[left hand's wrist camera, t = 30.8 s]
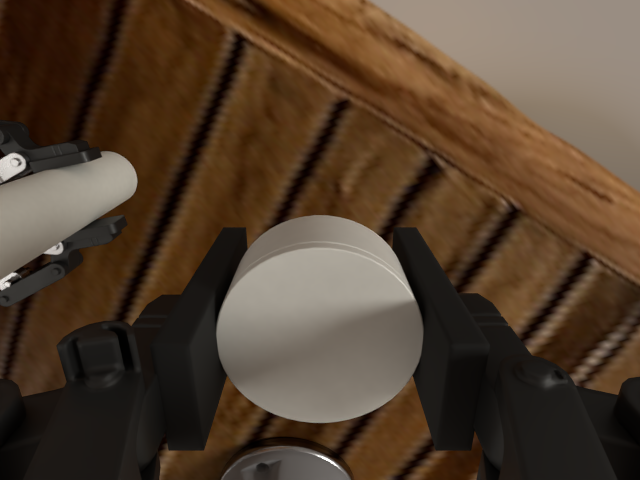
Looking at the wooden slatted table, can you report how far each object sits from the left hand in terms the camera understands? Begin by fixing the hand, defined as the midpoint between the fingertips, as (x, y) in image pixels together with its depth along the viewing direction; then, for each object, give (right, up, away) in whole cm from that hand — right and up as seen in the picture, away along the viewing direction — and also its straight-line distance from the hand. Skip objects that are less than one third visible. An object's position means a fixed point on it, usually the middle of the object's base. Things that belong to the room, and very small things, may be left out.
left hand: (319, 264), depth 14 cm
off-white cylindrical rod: (-17, +6, +20) cm, 27 cm away
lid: (0, -2, -4) cm, 4 cm away
